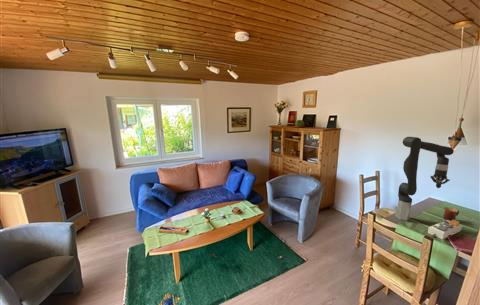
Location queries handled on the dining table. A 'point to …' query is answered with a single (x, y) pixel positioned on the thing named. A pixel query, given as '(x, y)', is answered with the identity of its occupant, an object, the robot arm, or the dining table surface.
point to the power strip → (443, 234)
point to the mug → (450, 213)
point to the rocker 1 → (442, 227)
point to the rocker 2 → (454, 222)
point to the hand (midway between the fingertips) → (438, 187)
